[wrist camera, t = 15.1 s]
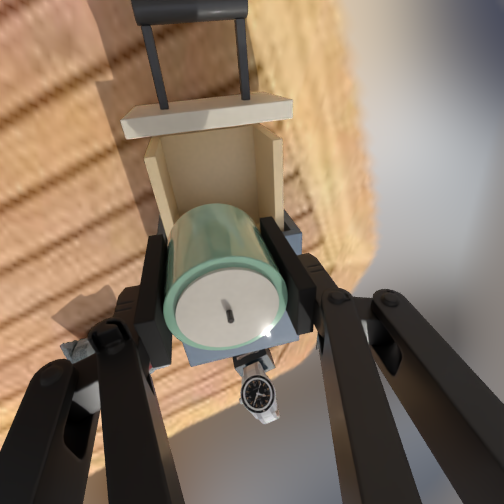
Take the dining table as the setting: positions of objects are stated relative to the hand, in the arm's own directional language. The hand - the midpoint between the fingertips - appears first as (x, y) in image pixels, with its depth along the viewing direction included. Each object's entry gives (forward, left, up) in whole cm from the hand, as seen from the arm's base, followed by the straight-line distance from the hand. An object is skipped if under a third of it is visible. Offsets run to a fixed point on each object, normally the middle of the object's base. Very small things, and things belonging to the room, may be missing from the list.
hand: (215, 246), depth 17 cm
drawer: (-3, +2, -14) cm, 14 cm away
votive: (0, 0, 0) cm, 0 cm away
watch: (+31, -3, -15) cm, 35 cm away
